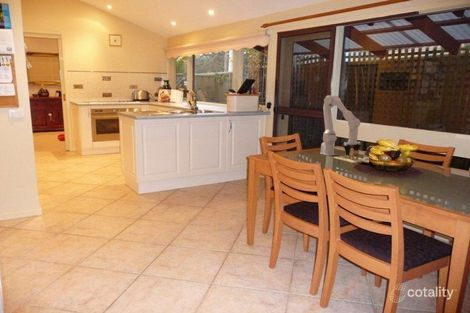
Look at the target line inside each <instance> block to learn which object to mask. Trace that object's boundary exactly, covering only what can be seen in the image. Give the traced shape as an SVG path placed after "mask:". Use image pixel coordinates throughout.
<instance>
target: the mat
mask: <svg viewBox="0 0 470 313" xmlns="http://www.w3.org/2000/svg"><path fill="white" fill-rule="evenodd" d="M344 157H345V155H341V156H333V158H334V159H336V160H339V161H340V160H341V161H343V162H348V163H351V164H356V163H361V161H362V159H363V158H361V157H358V160H356V156H354V160H352V157H351V158H349V156H347V158H344Z"/></svg>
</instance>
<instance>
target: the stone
mask: <svg viewBox="0 0 470 313" xmlns="http://www.w3.org/2000/svg"><path fill="white" fill-rule="evenodd" d="M375 146H376V145H369V146H368V147H367V148H366V149H365V150H366V151H365V152H364V153H363V158H362V161H361V162H360V164H364V163H365V164H370V163H369V152H370V149H371V148H372V147H375Z"/></svg>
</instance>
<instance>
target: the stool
mask: <svg viewBox="0 0 470 313" xmlns="http://www.w3.org/2000/svg"><path fill="white" fill-rule="evenodd" d="M359 153H360V151H359V150H358V151H356V150H354V149H352V148H351V149H350V153H349V158H351V157H352V160H354V157H356V160H358V158H359ZM344 156H345V157H344V158H347V155H346V152H345V151H344Z"/></svg>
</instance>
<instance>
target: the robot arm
mask: <svg viewBox="0 0 470 313" xmlns="http://www.w3.org/2000/svg"><path fill="white" fill-rule="evenodd" d="M335 106H336V108H338V109H339V110H340V111H341V113H342V116H343V118H344V119H345V120H346V122H348V123H347V124H348V129H349V130H348V131H349V132H348V140H347V142H343V148H344V153H345V152H346V155H347V156H349V153H350V149H351V150H356V151H359V150H360V148H361V141H358V134H359V127H360V125H361V120H360V119H359V118H357V117H356V116H355V115H354V114H353V112H352V111H351V110H348V109H347V108H346V106H345V105H344V103H343V102H342V101H341V98H340V97H339V96H338V95H326V96H325V98H324V99H323V107H322V110H323V120H324V129H325V130H324V132H323V136H322V141H323V142H322V143H321V145H320V152H319V155H323V156H328V157H330V156H337V154H336V153H335V143H336V142H337V139H338V136H337V134H336V131H335V130H334V128H333V127H334V126H333V116H332V115H333V114H332V108H333V107H335ZM352 148H353V149H352Z"/></svg>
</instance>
